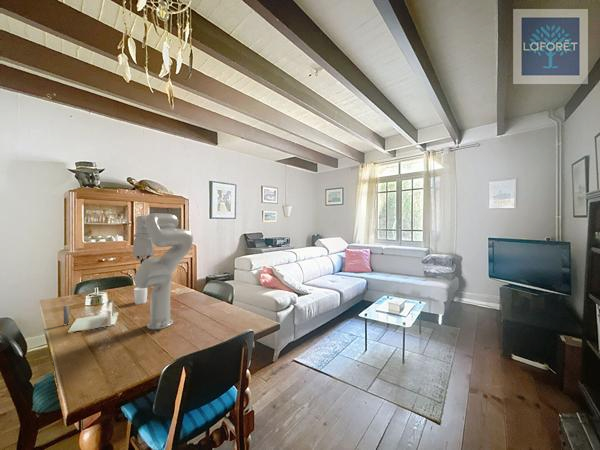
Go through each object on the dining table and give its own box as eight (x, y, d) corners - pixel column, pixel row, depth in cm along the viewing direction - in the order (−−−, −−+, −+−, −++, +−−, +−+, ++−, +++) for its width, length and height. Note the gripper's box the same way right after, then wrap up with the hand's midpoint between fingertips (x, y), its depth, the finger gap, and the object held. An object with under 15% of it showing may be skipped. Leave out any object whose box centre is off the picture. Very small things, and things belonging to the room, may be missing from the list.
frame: (114, 325, 130) (114, 307, 130) (55, 336, 118) (55, 316, 118) (118, 313, 146) (118, 297, 146) (66, 322, 134) (66, 304, 134)
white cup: (150, 301, 169) (150, 286, 169) (141, 305, 162) (141, 290, 161) (139, 300, 170) (139, 286, 170) (130, 304, 162) (130, 289, 162)
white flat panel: (109, 316, 139) (109, 302, 139) (112, 315, 139) (112, 302, 139) (107, 326, 126) (107, 311, 126) (110, 325, 127) (110, 310, 126)
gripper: (127, 236, 139) (127, 268, 139) (157, 236, 145) (157, 266, 146) (130, 236, 146) (130, 266, 146) (158, 235, 152) (158, 264, 152)
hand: (143, 266), depth 146 cm, fingers closed
